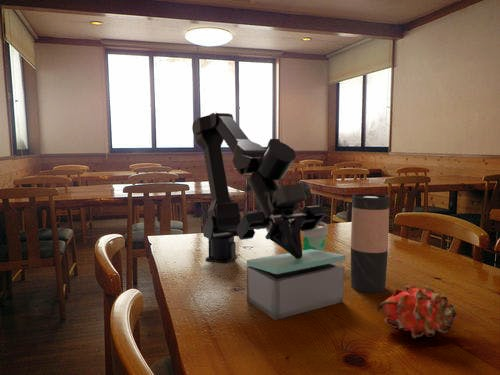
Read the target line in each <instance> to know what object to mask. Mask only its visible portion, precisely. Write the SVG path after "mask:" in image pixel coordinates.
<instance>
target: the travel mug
mask: <svg viewBox="0 0 500 375" xmlns="http://www.w3.org/2000/svg"><path fill="white" fill-rule="evenodd" d="M351 202H352V203H351V204H352V205H351V228H350V230H351V232H350V286H351V288H352V289H353V290H354V291H355V290H356V291H357V292H361V293H364V294H365V293H367V294H378V293H379V294H380V293H382V292H384V291H385V290H386V281H387V269H388V254H389V251H388V250H389V228H390V222H389V221H390V195H389V194H388V195H387V194H382V193H377V194H375V195H372V196H370V195H367V194H366V193H354V194H352V200H351Z"/></svg>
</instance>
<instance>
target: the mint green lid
mask: <svg viewBox="0 0 500 375" xmlns="http://www.w3.org/2000/svg"><path fill="white" fill-rule="evenodd" d="M343 261H346V254H341V253H334V252H330V251H319V250H313V249H309V250H303V249H302V257H301V258H299V259H296V258H295V257H294V256H293V255H291V254H290V253H289V252H287V253H280V254H276V255H274V254H273V255H269V256H263V257H257V258H252V259H246V266H251V267H254V268H258V269H261V270H264V271H268V272H271V273H274V274H280V273H285V272H290V271H295V270H300V269H305V268H310V267H315V266H320V265H325V264H330V263H334V264H336V263H338V262H343Z"/></svg>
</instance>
